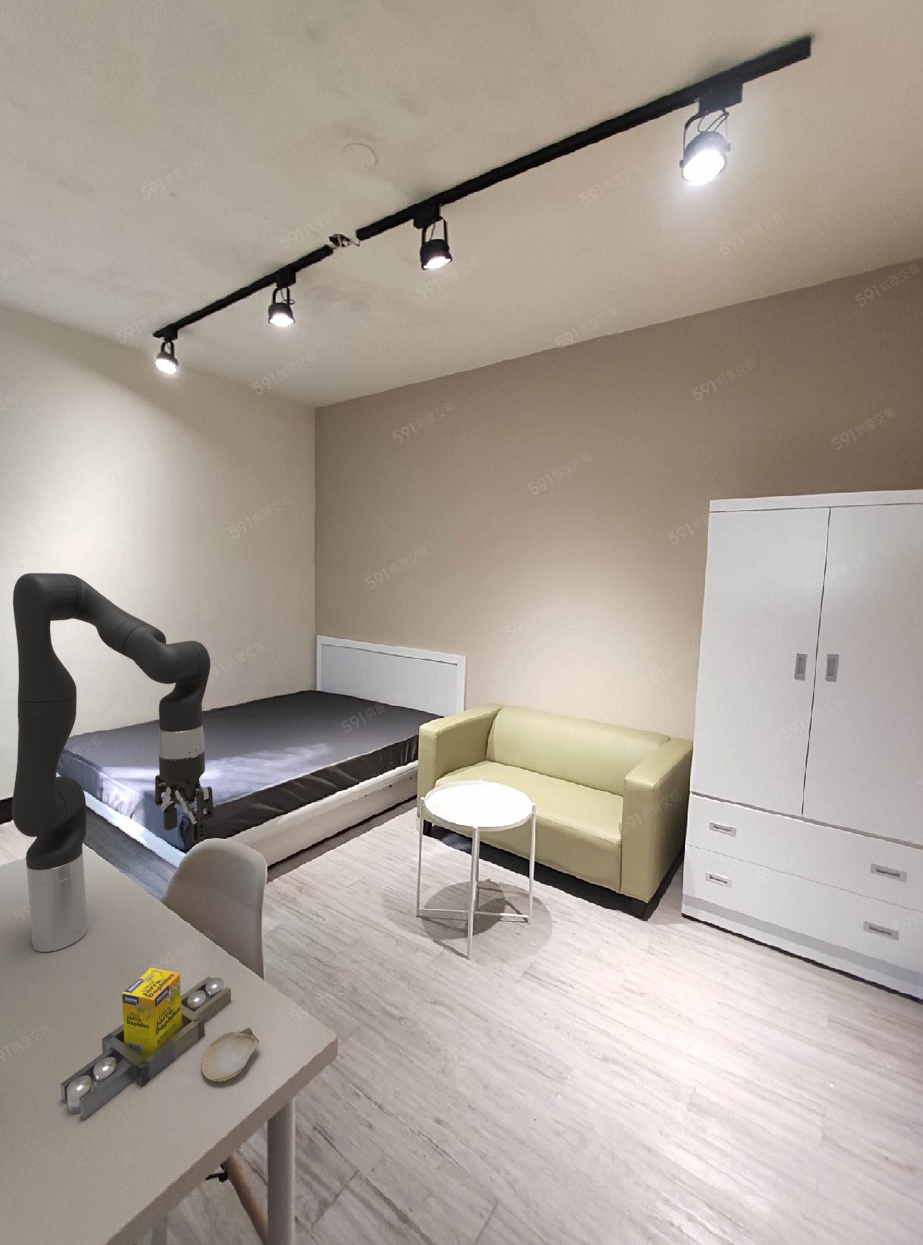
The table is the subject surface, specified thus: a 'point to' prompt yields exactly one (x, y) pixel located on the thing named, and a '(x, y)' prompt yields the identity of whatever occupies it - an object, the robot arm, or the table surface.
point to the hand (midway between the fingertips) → (184, 834)
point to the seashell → (228, 1055)
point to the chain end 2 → (199, 1011)
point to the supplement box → (152, 1011)
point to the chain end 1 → (112, 1073)
